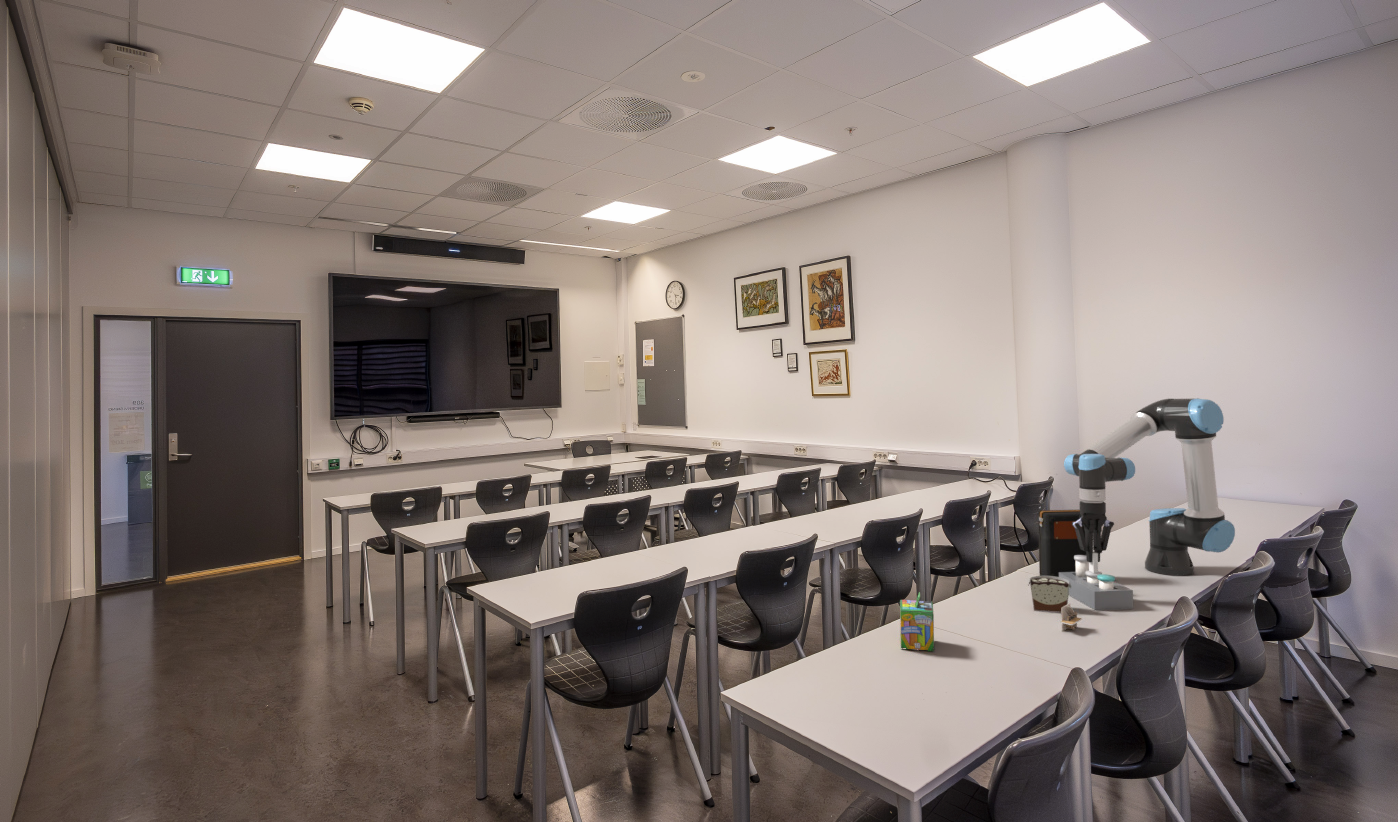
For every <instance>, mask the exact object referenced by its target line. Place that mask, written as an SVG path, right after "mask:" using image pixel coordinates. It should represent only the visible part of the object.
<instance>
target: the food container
mask: <svg viewBox="0 0 1398 822" xmlns="http://www.w3.org/2000/svg"><path fill="white" fill-rule="evenodd" d="M1027 586H1030V591H1031V593H1030V594H1031V601H1032V605H1033V611H1034V612H1044V611H1047V612H1046V613H1060V614H1061V608H1062V607H1064V606H1065V605H1067V604H1069V597H1070V596H1069V587H1070V588H1071V584H1070V582H1069V581H1068V580H1066V579H1064V578H1060V577H1054V576H1040V575H1035V576H1032V577H1030V578H1029V580H1028V584H1027Z"/></svg>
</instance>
